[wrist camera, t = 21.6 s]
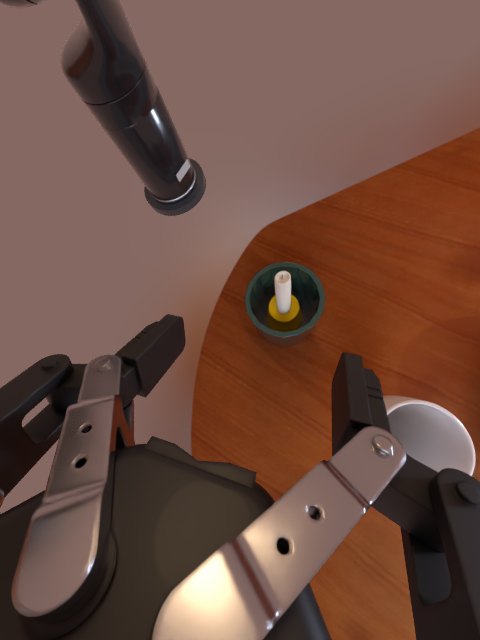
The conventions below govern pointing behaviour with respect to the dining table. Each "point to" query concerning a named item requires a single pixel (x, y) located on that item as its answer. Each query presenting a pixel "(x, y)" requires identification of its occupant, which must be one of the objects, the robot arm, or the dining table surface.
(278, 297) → the candle
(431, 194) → the dining table surface
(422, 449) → the drinking glass
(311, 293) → the cup
